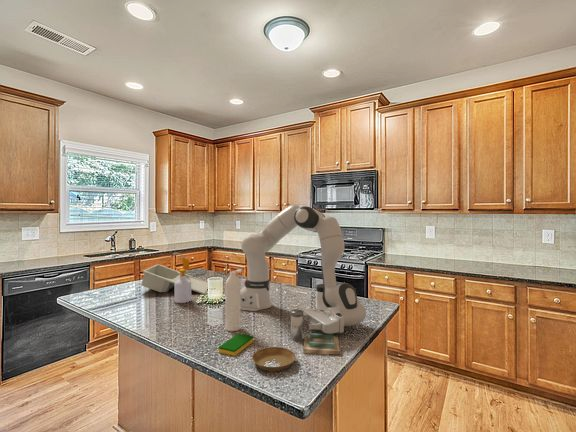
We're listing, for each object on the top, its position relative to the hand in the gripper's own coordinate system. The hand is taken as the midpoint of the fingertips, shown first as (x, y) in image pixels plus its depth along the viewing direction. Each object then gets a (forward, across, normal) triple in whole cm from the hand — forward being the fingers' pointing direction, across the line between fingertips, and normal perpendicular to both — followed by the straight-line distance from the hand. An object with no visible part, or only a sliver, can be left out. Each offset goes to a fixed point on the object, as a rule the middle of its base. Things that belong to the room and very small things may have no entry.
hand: (303, 322), depth 128 cm
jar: (-27, -28, +6) cm, 40 cm away
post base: (-2, +10, +6) cm, 12 cm away
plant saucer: (+19, +15, +6) cm, 25 cm away
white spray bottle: (+23, -21, +6) cm, 32 cm away
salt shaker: (+3, 0, +6) cm, 7 cm away
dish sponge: (+27, -3, +7) cm, 28 cm away
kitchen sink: (+39, -100, +7) cm, 107 cm away
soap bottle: (+39, -72, +6) cm, 82 cm away
